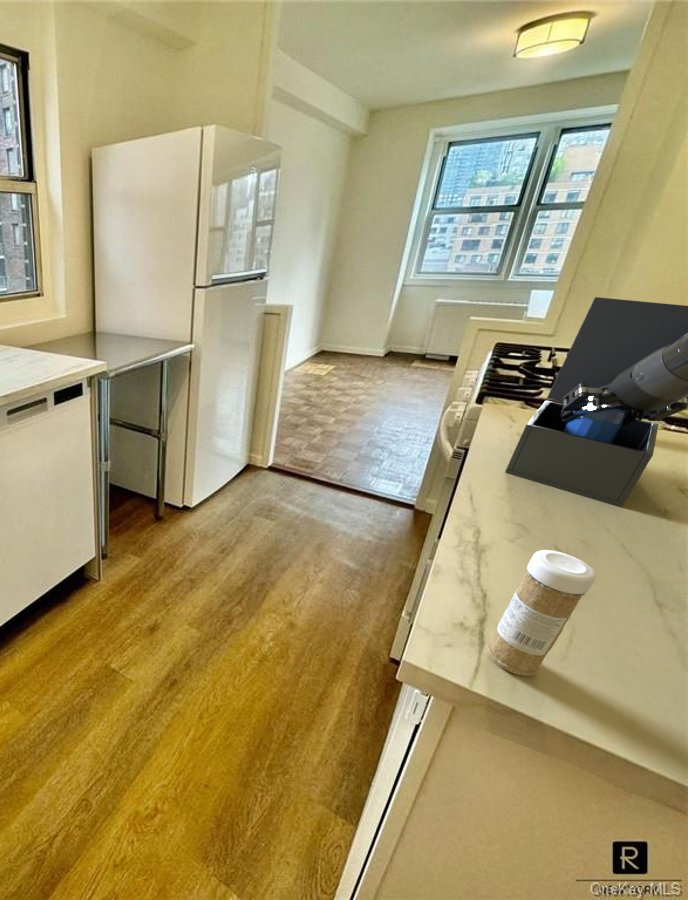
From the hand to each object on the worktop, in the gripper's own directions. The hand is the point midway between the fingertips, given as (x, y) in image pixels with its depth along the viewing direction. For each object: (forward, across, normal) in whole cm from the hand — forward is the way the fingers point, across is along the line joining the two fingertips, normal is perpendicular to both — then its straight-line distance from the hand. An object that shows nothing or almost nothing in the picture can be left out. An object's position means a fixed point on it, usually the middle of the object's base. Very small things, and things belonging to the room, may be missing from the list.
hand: (588, 419), depth 87 cm
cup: (+2, 0, +4) cm, 5 cm away
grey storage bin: (+6, 0, +8) cm, 10 cm away
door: (-2, -5, -12) cm, 13 cm away
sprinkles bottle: (-33, +26, +48) cm, 64 cm away
